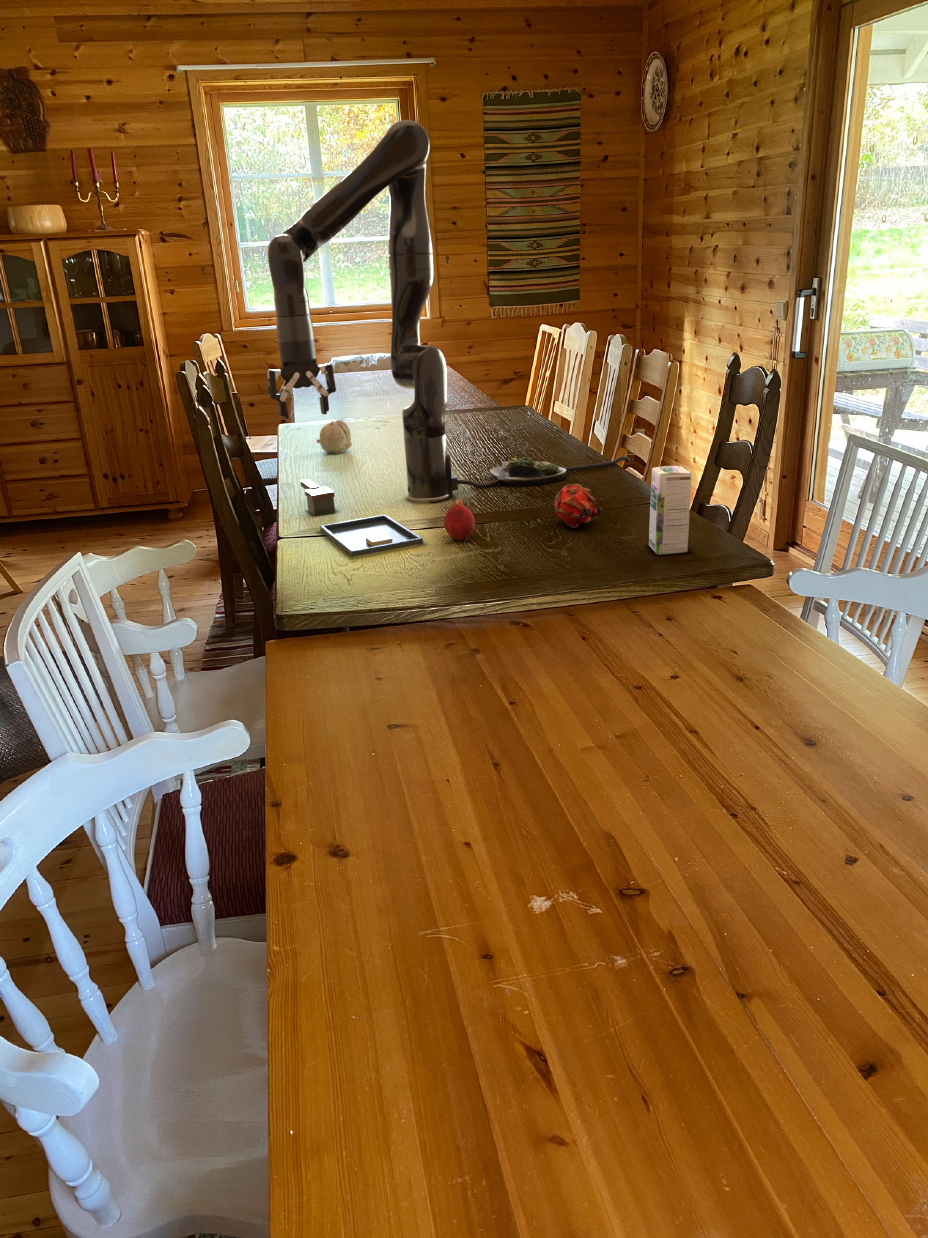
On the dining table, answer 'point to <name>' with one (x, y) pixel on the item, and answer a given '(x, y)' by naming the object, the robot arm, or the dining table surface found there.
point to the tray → (369, 534)
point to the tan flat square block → (378, 540)
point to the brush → (318, 498)
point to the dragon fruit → (575, 505)
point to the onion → (459, 521)
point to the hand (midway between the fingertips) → (305, 416)
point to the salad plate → (527, 472)
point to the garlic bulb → (335, 437)
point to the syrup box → (669, 510)
